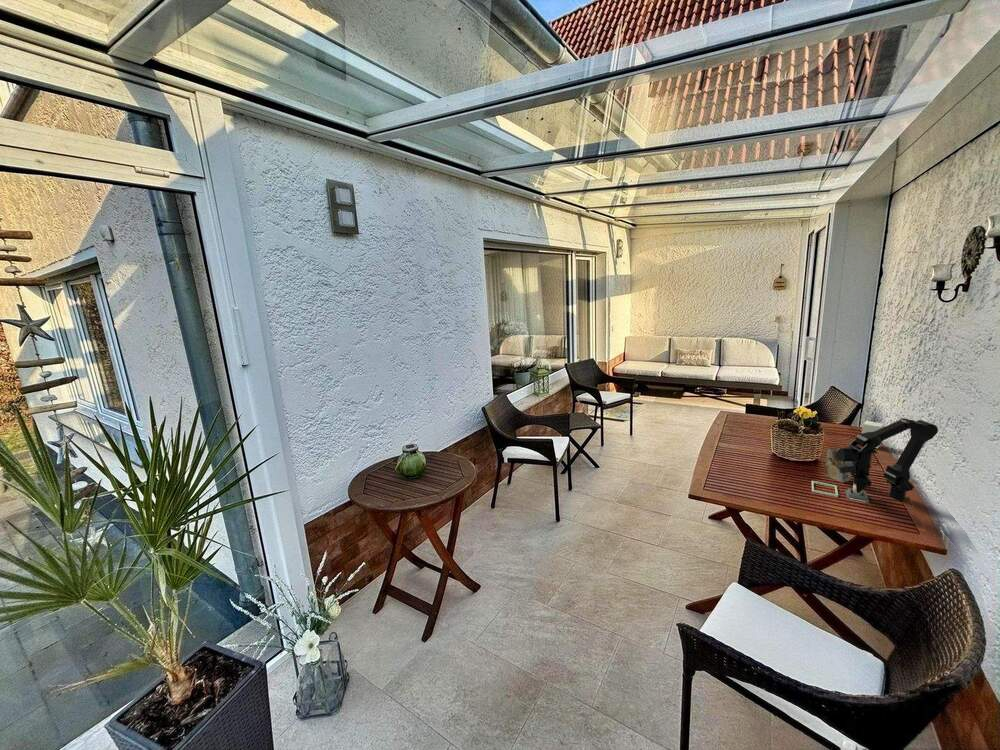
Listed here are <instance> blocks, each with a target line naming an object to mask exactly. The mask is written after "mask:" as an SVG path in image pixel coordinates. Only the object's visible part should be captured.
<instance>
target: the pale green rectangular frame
mask: <svg viewBox="0 0 1000 750" xmlns="http://www.w3.org/2000/svg"><path fill="white" fill-rule="evenodd" d="M815 484H816V485H821V486H826V487H831V488H834V491H835V492H834V493H830V492H826V491H821V490H817V489H815V486H814V485H815ZM838 491H839V490H838V487H837V484H836V485H835V484H830V483H825V482H822V481H815V480H811V492H812V493H815V494H821V495H824V496H829V497H835V498H839V492H838Z"/></svg>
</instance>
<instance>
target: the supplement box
mask: <svg viewBox="0 0 1000 750" xmlns="http://www.w3.org/2000/svg"><path fill="white" fill-rule="evenodd" d="M883 427H885V423H882V422H876V421H871V420H866V421H864V422H863V424H862V430H861V434H862V433H866V432H874V431H877V430H879V429H881V428H883ZM881 445H882V443H881V444H880V445H879V446H877V447H876V448H879V447H880V448H881ZM880 448H879V449H880Z"/></svg>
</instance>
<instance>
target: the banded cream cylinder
mask: <svg viewBox="0 0 1000 750" xmlns="http://www.w3.org/2000/svg"><path fill="white" fill-rule="evenodd" d="M852 489H853V492H852V494H856V495H861V496H862V493H863V491H864V489H863V490H862V491H861V492H860V493H857V490H856V484H855V483H853V486H852Z"/></svg>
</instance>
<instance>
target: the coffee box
mask: <svg viewBox="0 0 1000 750" xmlns="http://www.w3.org/2000/svg"><path fill="white" fill-rule="evenodd" d="M839 449H841V447H839V448H838V447H837V446H834V447H830V448H828V449H827V454H826V462H825V470H824V476H825V477H828V478H830V479H833V480H835V481H837V482H840V483H845V482H846V483H847V482H849V481H850V480H851V476H852V475H851V472H848V473H840V470H839V466H838V464H842V463H853V461H839V460H838V458H837V456H836V452H837V451H838V450H839Z"/></svg>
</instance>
